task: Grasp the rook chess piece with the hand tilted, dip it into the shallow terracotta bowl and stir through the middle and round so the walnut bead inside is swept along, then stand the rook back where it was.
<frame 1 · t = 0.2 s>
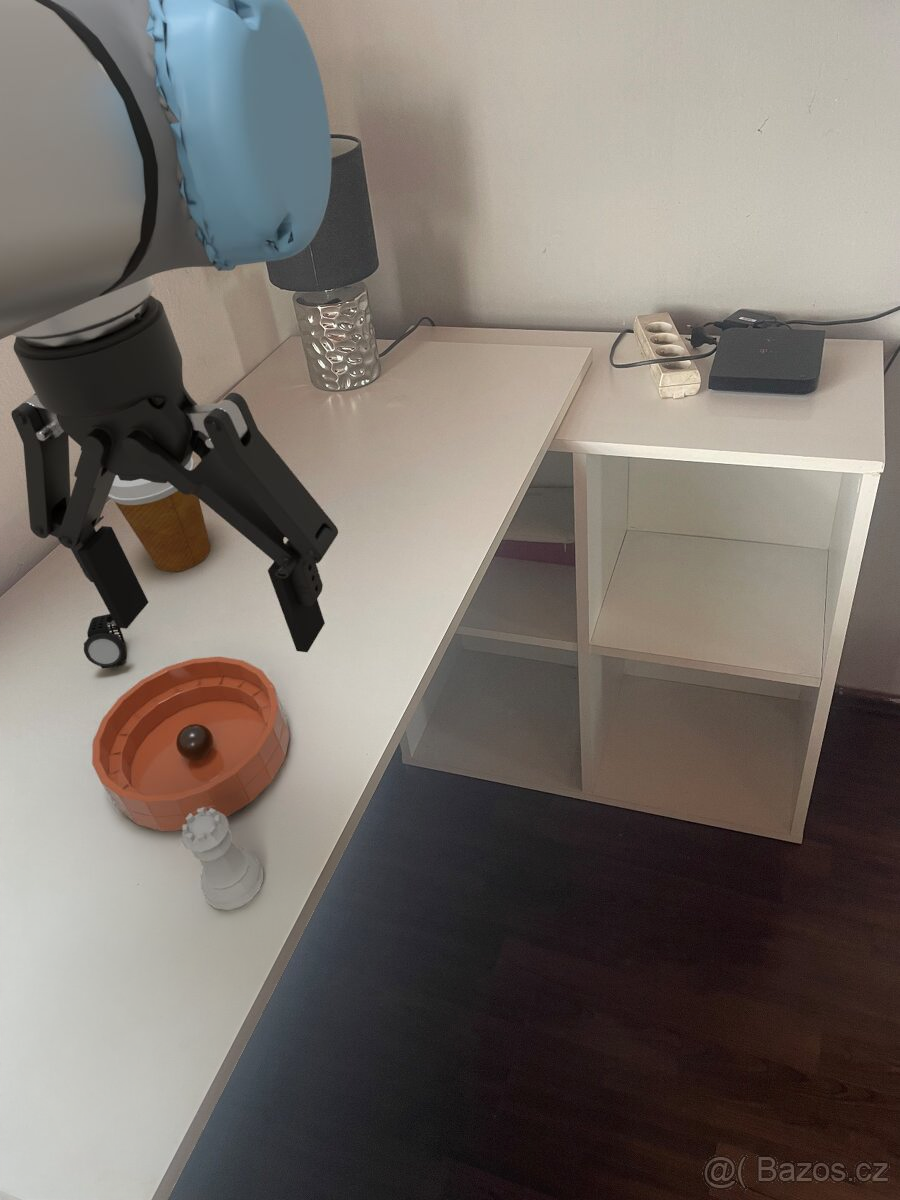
hand: (219, 626, 57), 19 cm above the table, tool pointing down, fingers open, 13 cm apart
rook chess piece: (236, 886, 64), on the table
bowl: (203, 757, 74), on the table
disposable coffee cup: (183, 555, 97), on the table
bead: (194, 742, 72), point 2 cm above the table, touching bowl
smartwatch: (122, 660, 85), on the table
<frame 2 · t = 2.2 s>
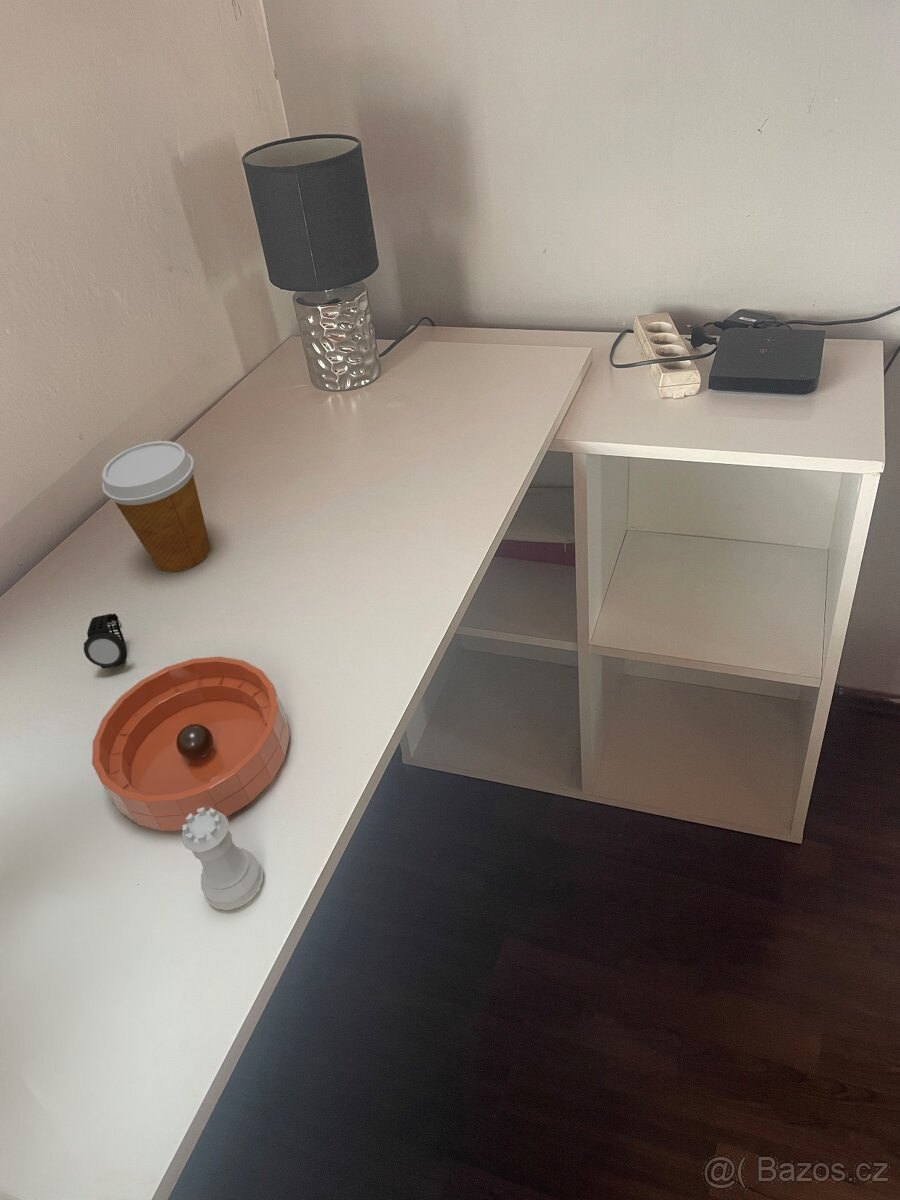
nothing on the table moved.
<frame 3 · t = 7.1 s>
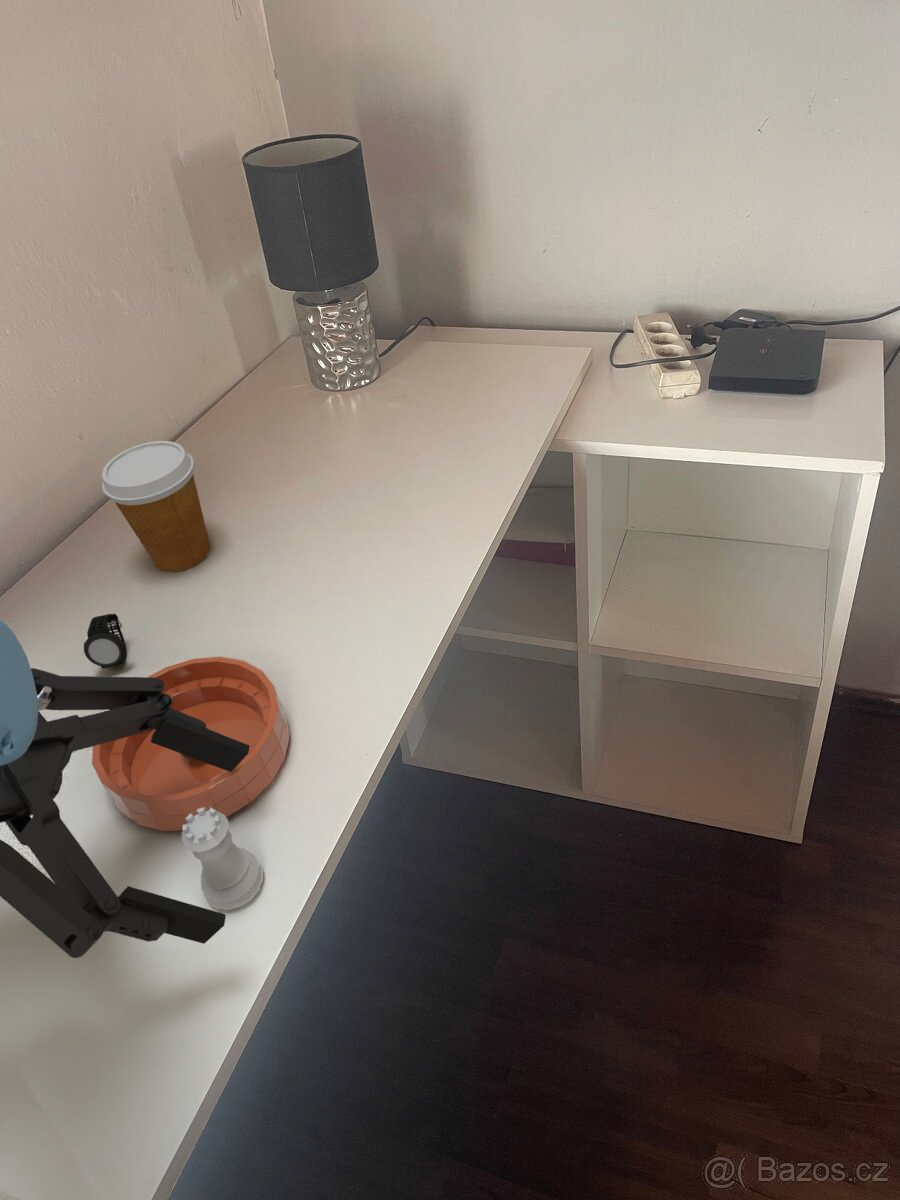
hand: (229, 837, 60), 6 cm above the table, tool tilted 45°, fingers open, 13 cm apart
nothing on the table moved.
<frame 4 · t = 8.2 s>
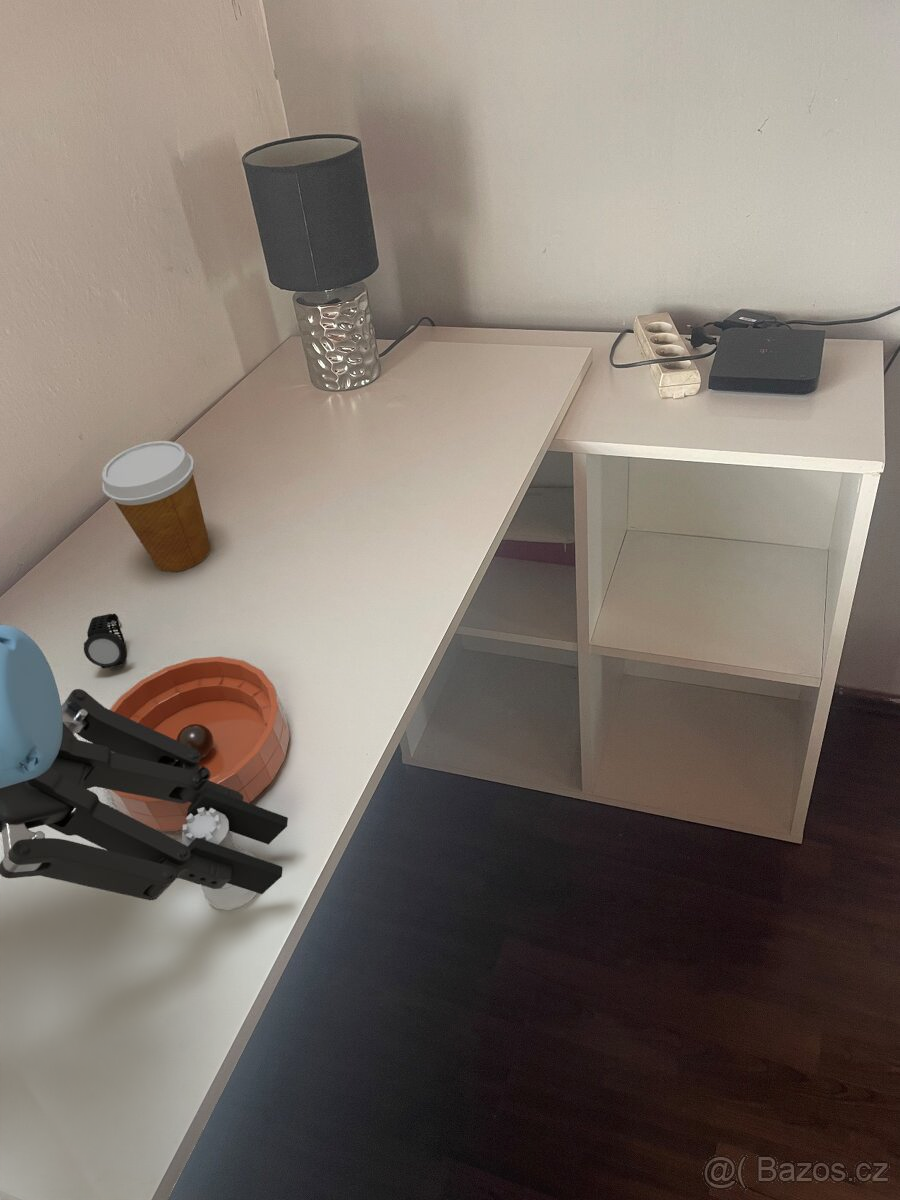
hand: (274, 855, 62), 3 cm above the table, tool tilted 45°, fingers closed on rook chess piece, 3 cm apart
rook chess piece: (236, 886, 64), on the table, touching gripper
everything else where it was.
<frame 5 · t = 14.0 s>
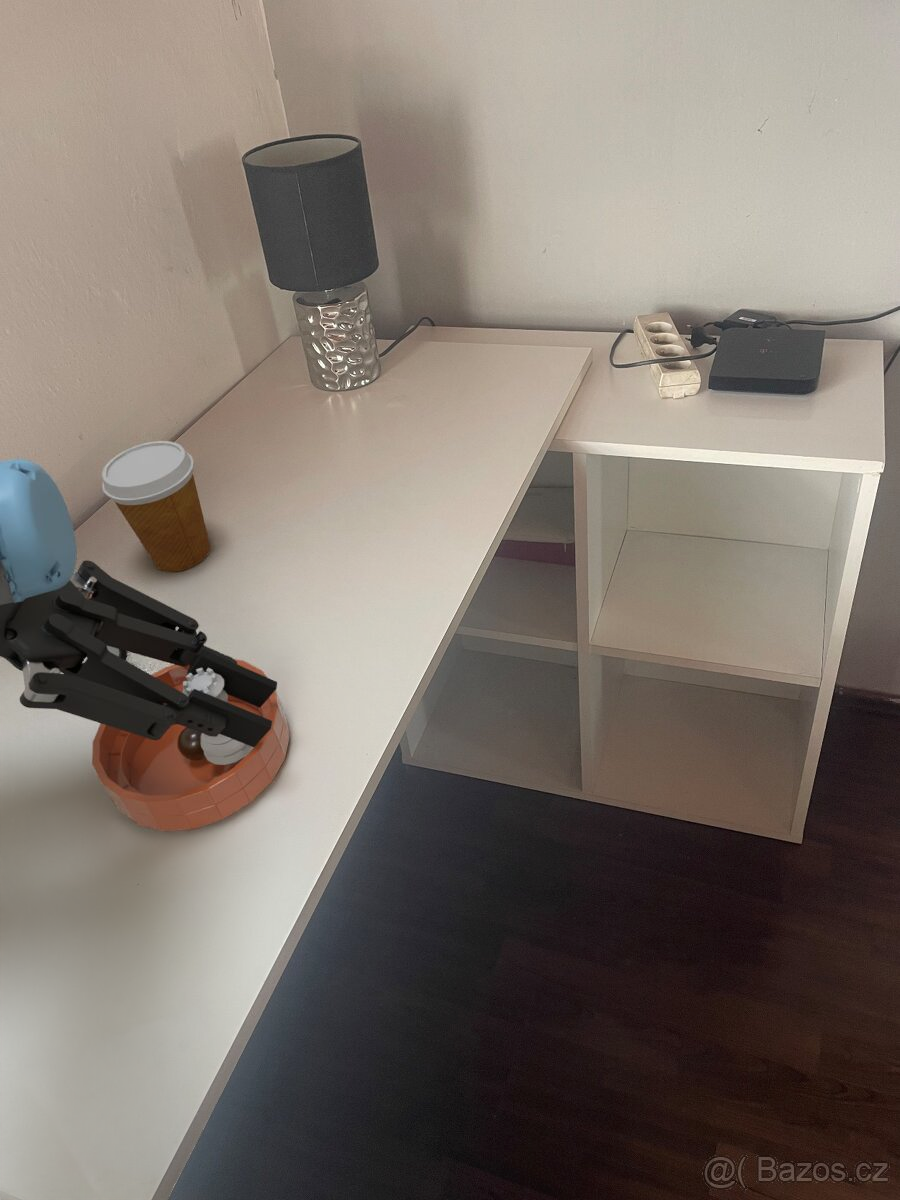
hand: (265, 713, 69), 6 cm above the table, tool tilted 45°, fingers closed on rook chess piece, 3 cm apart
rook chess piece: (232, 748, 71), point 2 cm above the table, touching bead, bowl, gripper
bead: (196, 742, 72), point 2 cm above the table, touching bowl, rook chess piece
everything else where it was.
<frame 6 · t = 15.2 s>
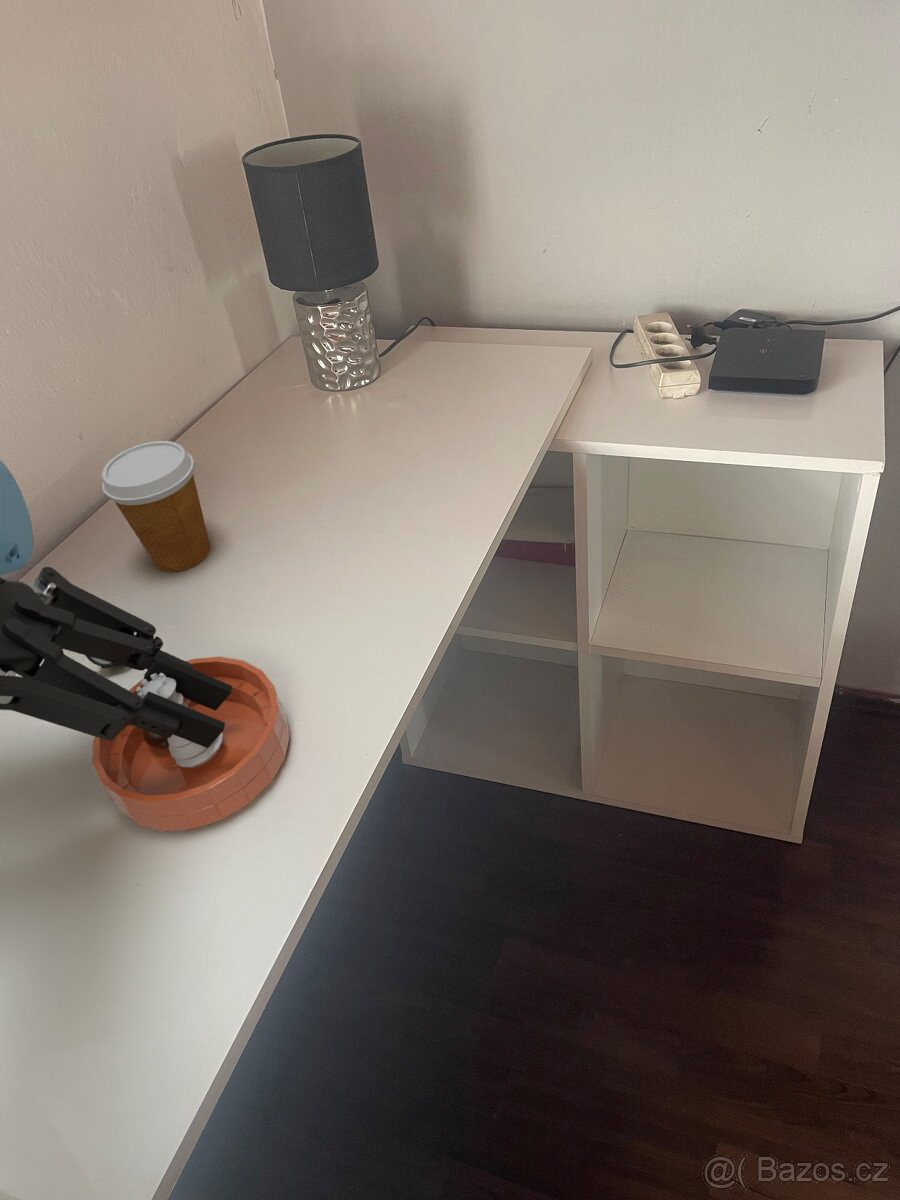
hand: (219, 716, 71), 4 cm above the table, tool tilted 45°, fingers closed on rook chess piece, 3 cm apart
rook chess piece: (202, 751, 73), point 1 cm above the table, touching bead, gripper
bead: (161, 731, 74), point 2 cm above the table, tilted 126°, touching bowl, rook chess piece
everything else where it was.
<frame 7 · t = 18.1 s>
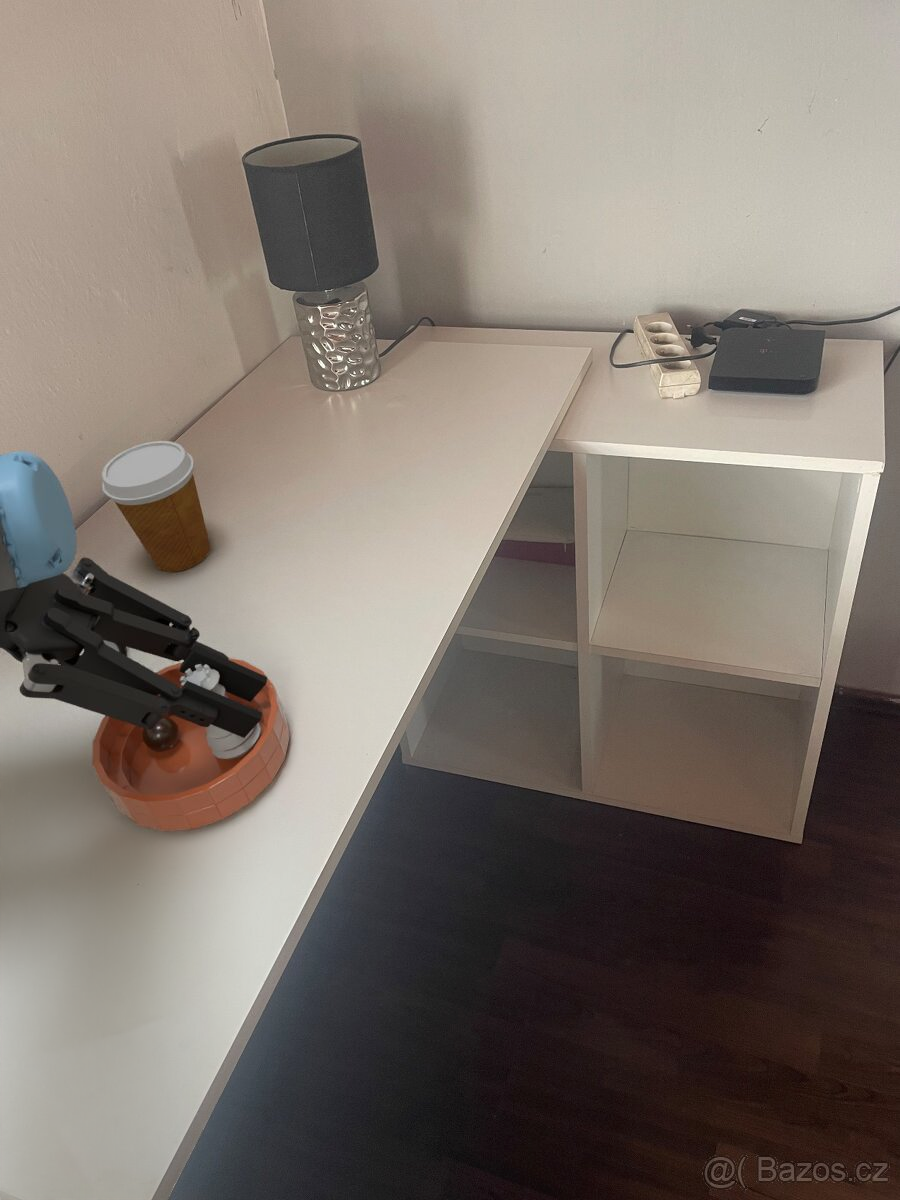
hand: (255, 706, 71), 4 cm above the table, tool tilted 45°, fingers closed on rook chess piece, 3 cm apart
rook chess piece: (239, 743, 73), point 1 cm above the table, touching bowl, gripper
bead: (161, 734, 74), point 2 cm above the table, tilted 120°, touching bowl
everything else where it was.
when the fingers open (4 cm above the table, at t = 25.0 s): rook chess piece stays where it is, on the table.
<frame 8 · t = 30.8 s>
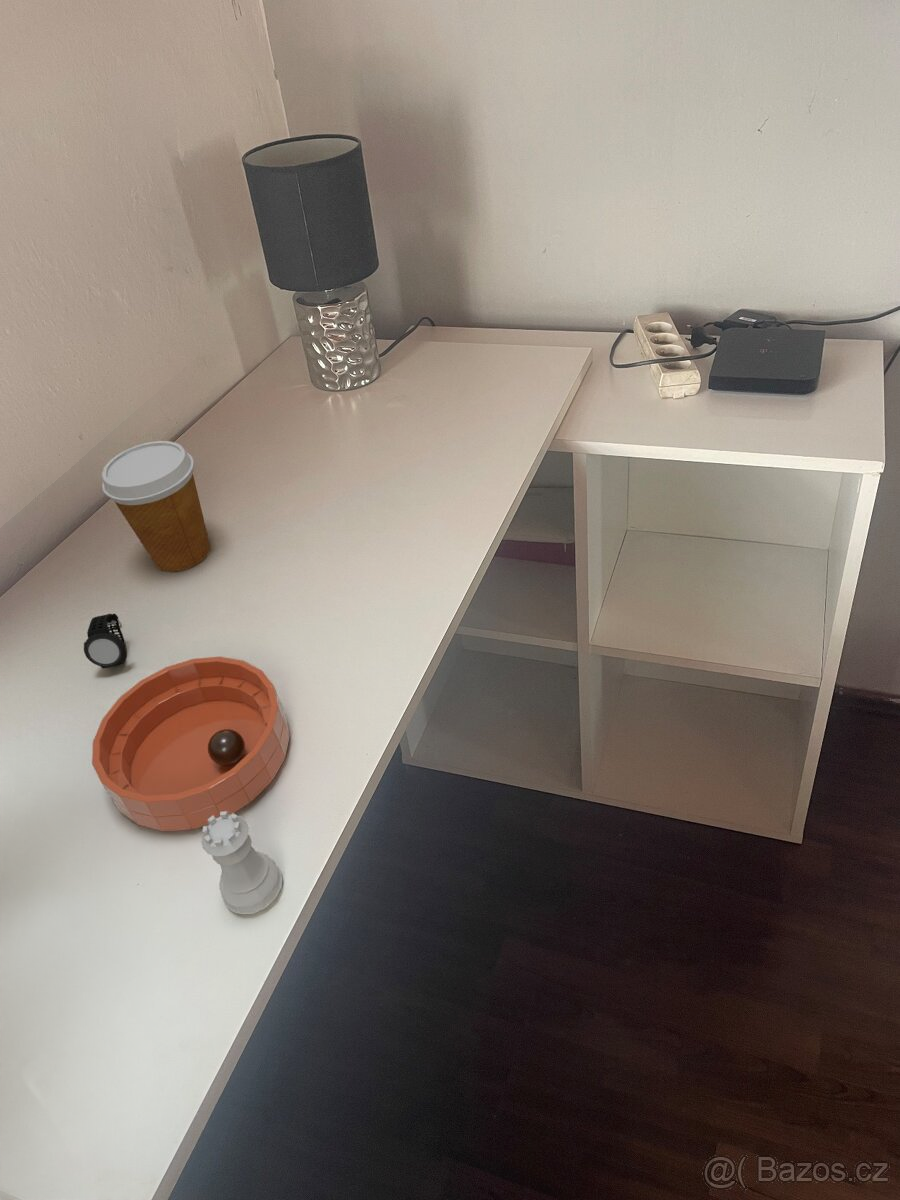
rook chess piece: (255, 890, 64), on the table
bead: (226, 747, 71), point 2 cm above the table, tilted 127°, touching bowl
everything else where it was.
at the end: bead moved 3.1 cm from its start; bead inside the target area in the bowl (3.1 cm from its centre), point 2.1 cm above the bowl's base; rook chess piece inside the target area (1.6 cm from its centre), on the table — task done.
